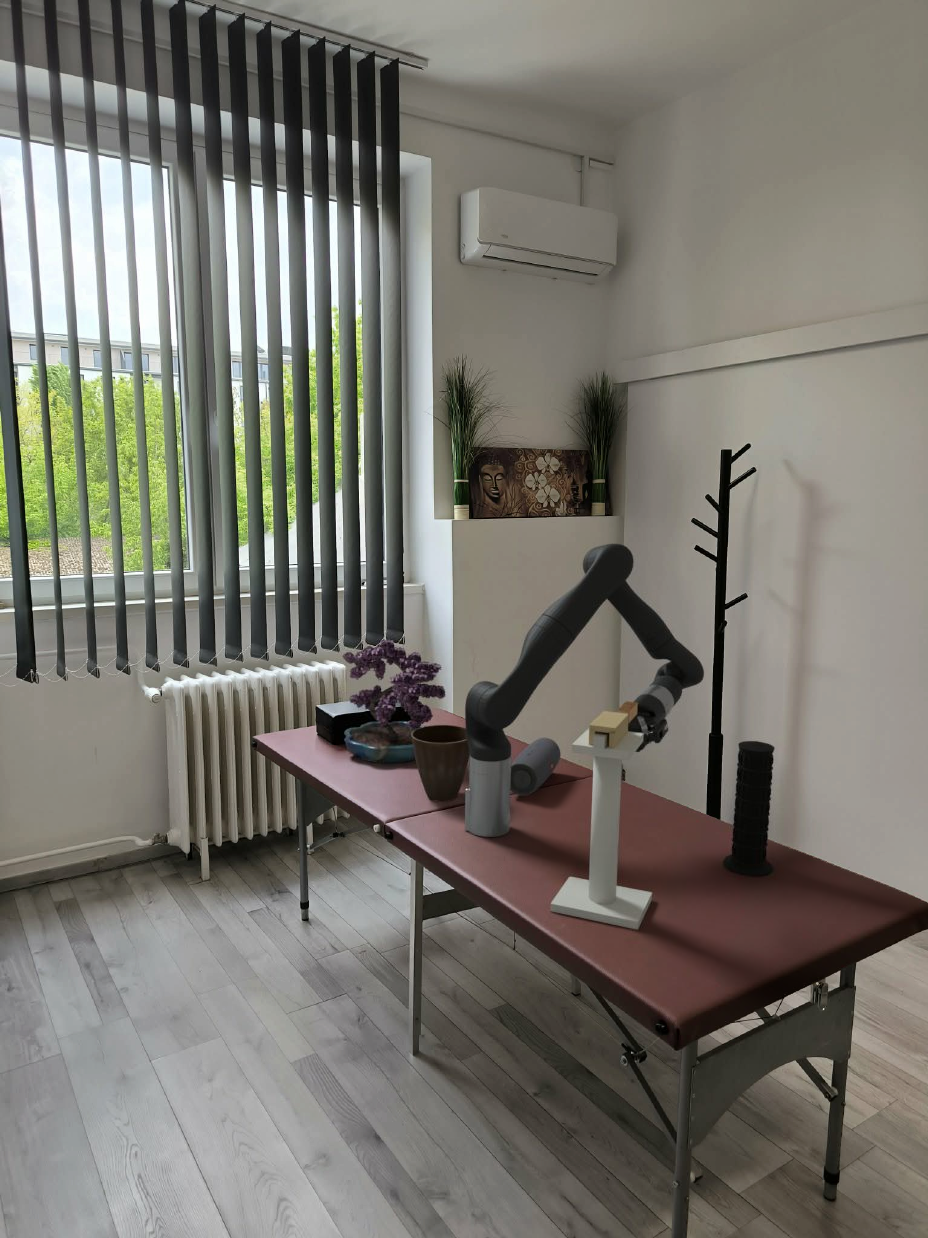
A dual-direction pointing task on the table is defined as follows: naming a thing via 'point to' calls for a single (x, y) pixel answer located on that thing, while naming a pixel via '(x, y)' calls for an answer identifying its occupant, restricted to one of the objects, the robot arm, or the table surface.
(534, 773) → the bluetooth speaker
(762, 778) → the handle grip
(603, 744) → the grey orange square rod
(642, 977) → the table surface
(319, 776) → the table surface
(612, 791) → the stand
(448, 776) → the plant pot
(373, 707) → the bonsai tree
